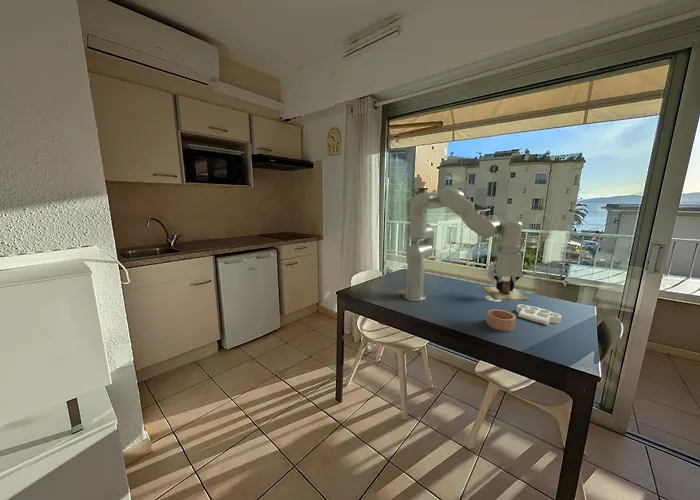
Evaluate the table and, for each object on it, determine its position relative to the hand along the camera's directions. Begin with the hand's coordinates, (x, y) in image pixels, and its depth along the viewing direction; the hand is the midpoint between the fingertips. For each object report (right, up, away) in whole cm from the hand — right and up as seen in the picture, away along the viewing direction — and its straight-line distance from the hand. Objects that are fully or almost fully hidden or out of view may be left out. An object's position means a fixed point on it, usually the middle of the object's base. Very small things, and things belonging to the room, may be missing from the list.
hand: (504, 289), depth 118 cm
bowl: (0, -17, +3) cm, 17 cm away
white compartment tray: (+22, -16, +11) cm, 29 cm away
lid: (0, -2, 0) cm, 2 cm away
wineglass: (+13, -11, +34) cm, 37 cm away
